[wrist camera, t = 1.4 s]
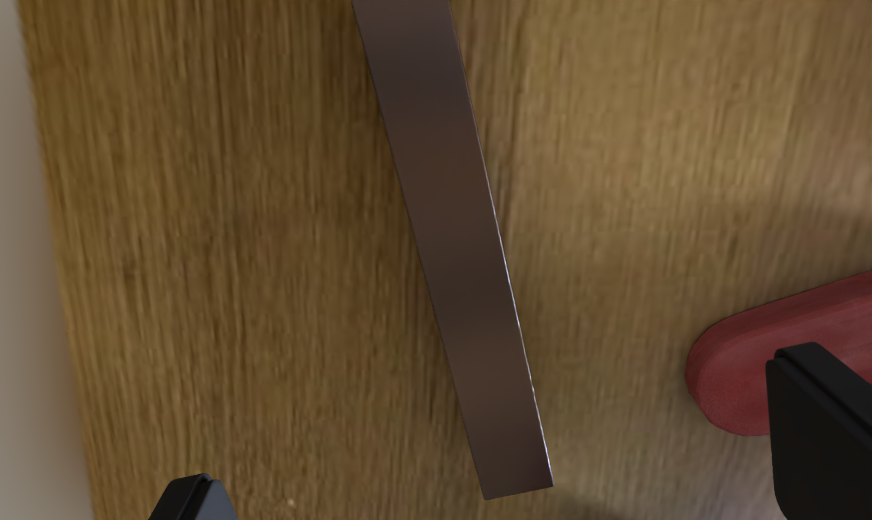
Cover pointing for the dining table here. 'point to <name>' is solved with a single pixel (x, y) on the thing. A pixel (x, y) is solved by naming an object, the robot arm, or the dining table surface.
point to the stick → (456, 234)
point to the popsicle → (765, 333)
